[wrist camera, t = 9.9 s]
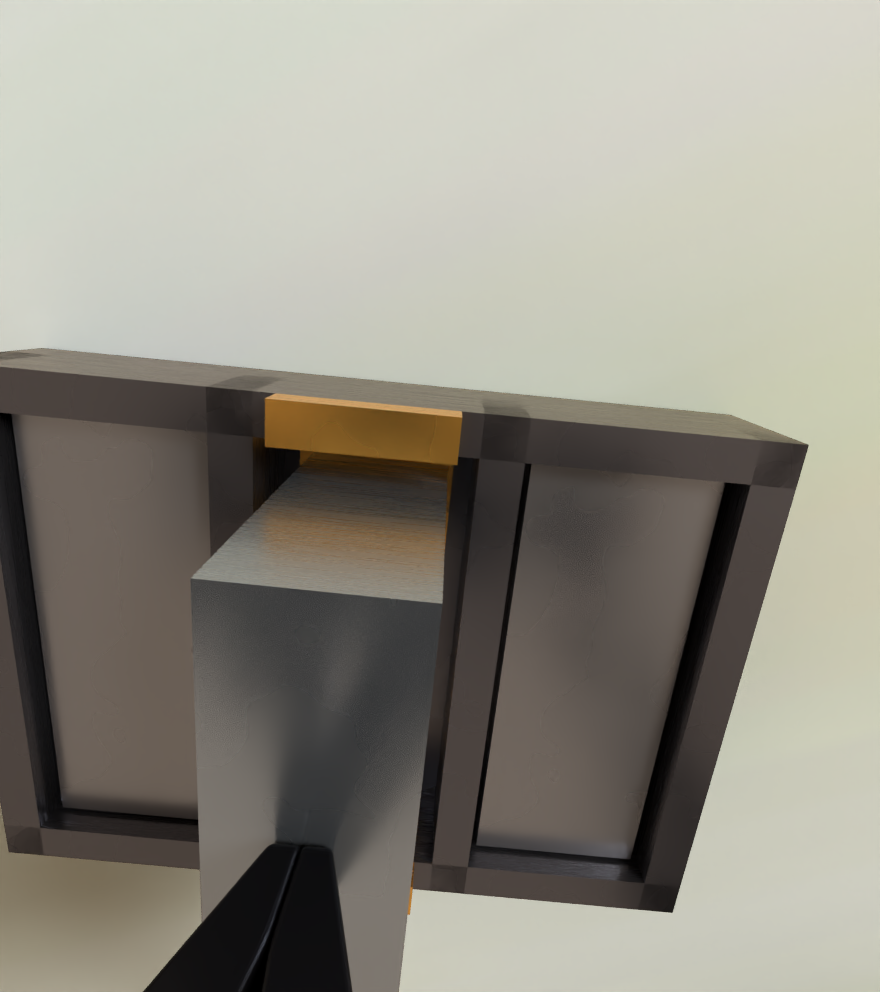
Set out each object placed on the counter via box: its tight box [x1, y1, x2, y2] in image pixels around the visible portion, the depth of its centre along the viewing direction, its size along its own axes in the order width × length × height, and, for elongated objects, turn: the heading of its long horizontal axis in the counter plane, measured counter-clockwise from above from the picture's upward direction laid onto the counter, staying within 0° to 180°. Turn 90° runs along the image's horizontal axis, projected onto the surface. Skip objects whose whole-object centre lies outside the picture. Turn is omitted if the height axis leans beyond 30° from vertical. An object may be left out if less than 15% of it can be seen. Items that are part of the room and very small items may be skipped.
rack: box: [0, 348, 809, 915], centre depth 13 cm, size 11×15×4 cm
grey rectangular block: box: [190, 452, 448, 992], centre depth 11 cm, size 8×3×6 cm, turn 174°
